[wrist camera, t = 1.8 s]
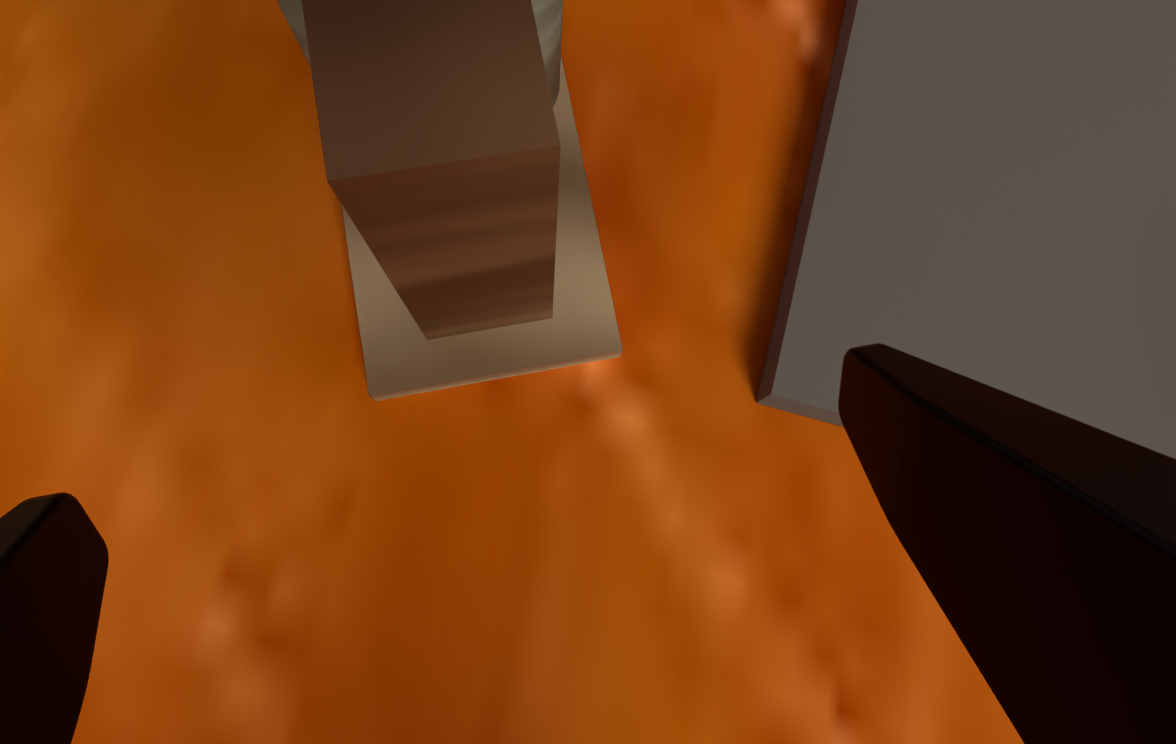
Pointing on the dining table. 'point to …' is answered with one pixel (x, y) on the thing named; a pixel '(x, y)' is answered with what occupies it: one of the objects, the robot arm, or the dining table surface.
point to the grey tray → (994, 208)
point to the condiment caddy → (458, 188)
